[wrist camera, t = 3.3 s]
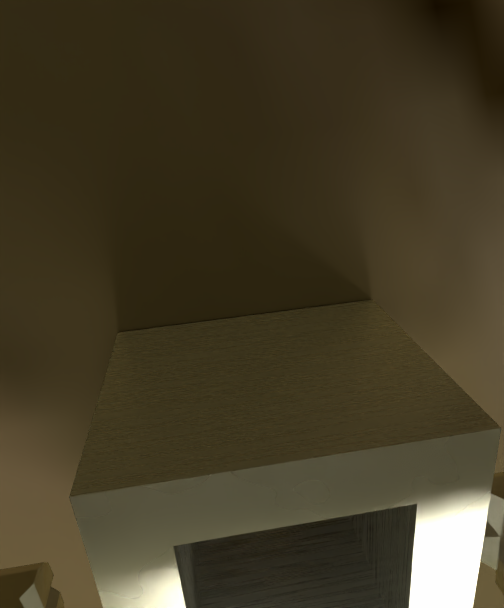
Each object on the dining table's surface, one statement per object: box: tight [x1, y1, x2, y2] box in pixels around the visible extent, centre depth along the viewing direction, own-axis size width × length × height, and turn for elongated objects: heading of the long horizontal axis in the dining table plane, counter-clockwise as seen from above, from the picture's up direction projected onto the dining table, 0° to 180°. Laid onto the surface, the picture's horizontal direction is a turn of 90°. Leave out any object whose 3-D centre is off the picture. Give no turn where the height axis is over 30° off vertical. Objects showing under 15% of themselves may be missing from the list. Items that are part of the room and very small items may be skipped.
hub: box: [69, 300, 501, 608], centre depth 9 cm, size 6×6×5 cm
